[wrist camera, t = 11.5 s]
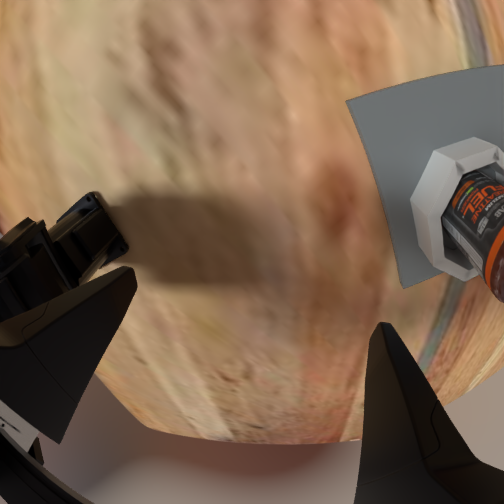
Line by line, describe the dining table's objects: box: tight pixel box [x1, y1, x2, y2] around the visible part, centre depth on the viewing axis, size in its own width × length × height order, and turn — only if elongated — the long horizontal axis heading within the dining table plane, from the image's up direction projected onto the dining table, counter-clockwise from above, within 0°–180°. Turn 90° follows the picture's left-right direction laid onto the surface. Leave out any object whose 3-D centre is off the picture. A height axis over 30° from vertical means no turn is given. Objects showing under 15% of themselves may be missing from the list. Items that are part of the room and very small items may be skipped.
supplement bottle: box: [440, 170, 504, 303], centre depth 12 cm, size 6×6×11 cm
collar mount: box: [345, 64, 504, 289], centre depth 14 cm, size 18×16×4 cm
